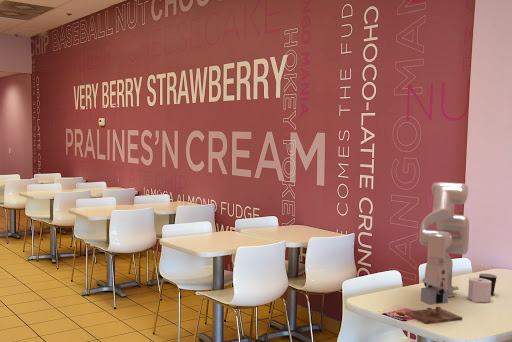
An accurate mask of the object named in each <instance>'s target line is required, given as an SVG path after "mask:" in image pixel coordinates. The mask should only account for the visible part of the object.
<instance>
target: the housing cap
mask: <svg viewBox="0 0 512 342" xmlns="http://www.w3.org/2000/svg"><path fill="white" fill-rule="evenodd" d="M420 289H421V290H420V302H422V303H424V304H427V305H428V306H429V305H430V306H433V305H440V304H441V305H442V304H448V303H449V301H448V300H449V297H448V290H446V292H445V293H444V294H443V303H436V296H437V294H438V293H437V288H436V287H421V288H420ZM440 290H441V288H440Z"/></svg>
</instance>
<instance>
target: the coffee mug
mask: <svg viewBox="0 0 512 342" xmlns="http://www.w3.org/2000/svg"><path fill="white" fill-rule="evenodd" d="M478 278H483V279H487V280H490V281H491V282H492V283H491V295H492V296H494V295H493V294H494V293H495V289H496V288H495V287H496V283H497V275H495V274H493V273H492V274H491V273H479V274H478Z"/></svg>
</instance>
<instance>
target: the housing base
mask: <svg viewBox="0 0 512 342" xmlns="http://www.w3.org/2000/svg"><path fill="white" fill-rule="evenodd" d="M404 313H405V315H406V316H408V317H410V318H412V319H414V320H417V321H419V322H421V323H422V324H425V325H431V324H439V323H448V322H456V321H463V316H460V315H458V314H456V313H453V312H451V311H448V310H446V309H443V308H442V307H441V306H435V308H431V307H427V308H426V309H419V310H410V311H408V310H407V311H404Z"/></svg>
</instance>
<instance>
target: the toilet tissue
mask: <svg viewBox="0 0 512 342" xmlns="http://www.w3.org/2000/svg"><path fill="white" fill-rule="evenodd" d="M491 283H492V282H491V281H490V280H487V279H483V278H479V277H469V278H468V286H467V287H468V291H467V299H468V300H470V301H472V302H473V303H474V302H475V303H490V302H491V300H492V299H491V297H492V296H491Z"/></svg>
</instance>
